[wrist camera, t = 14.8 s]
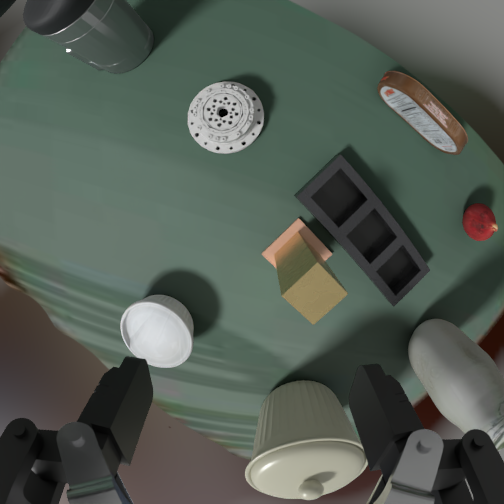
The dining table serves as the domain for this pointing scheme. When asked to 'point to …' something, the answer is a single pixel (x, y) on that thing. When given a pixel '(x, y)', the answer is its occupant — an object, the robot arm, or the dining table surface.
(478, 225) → the pomegranate
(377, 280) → the compartment tray
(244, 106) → the mechanical component
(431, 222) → the dining table surface
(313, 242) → the tile
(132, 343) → the ramekin
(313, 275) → the brass block
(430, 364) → the glass bottle
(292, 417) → the canister
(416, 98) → the tin
